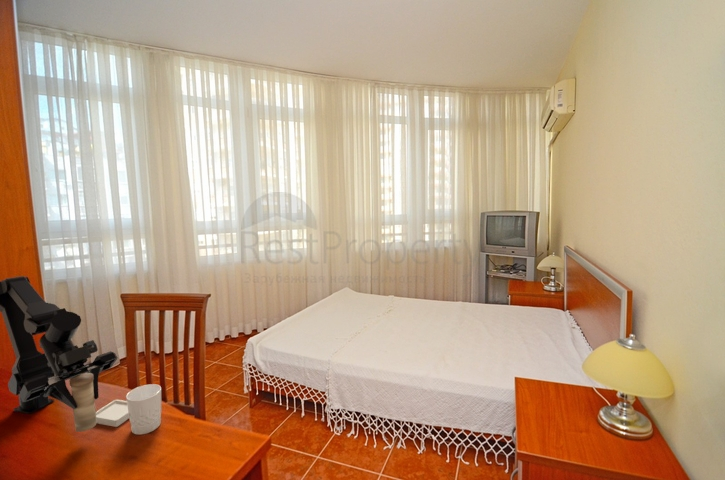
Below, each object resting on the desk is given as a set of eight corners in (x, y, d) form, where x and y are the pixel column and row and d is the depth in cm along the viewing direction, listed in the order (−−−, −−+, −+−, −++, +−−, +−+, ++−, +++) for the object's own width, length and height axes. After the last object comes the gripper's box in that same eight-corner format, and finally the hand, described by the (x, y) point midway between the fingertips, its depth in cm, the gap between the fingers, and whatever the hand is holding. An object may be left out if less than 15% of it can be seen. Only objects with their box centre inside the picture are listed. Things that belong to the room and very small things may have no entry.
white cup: (169, 418, 96) (167, 384, 95) (149, 437, 88) (147, 401, 87) (143, 416, 97) (141, 383, 96) (121, 435, 89) (118, 399, 88)
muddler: (69, 430, 85) (64, 381, 83) (87, 419, 89) (83, 371, 88) (84, 433, 84) (79, 383, 82) (102, 421, 88) (98, 374, 87)
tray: (89, 421, 94) (89, 415, 94) (116, 404, 102) (115, 399, 102) (116, 426, 92) (116, 420, 92) (141, 409, 100) (141, 403, 100)
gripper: (19, 349, 77) (47, 409, 73) (111, 322, 93) (137, 370, 90) (8, 373, 82) (34, 431, 78) (97, 344, 98) (122, 390, 94)
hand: (86, 403), depth 85 cm, fingers closed on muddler, 4 cm apart
